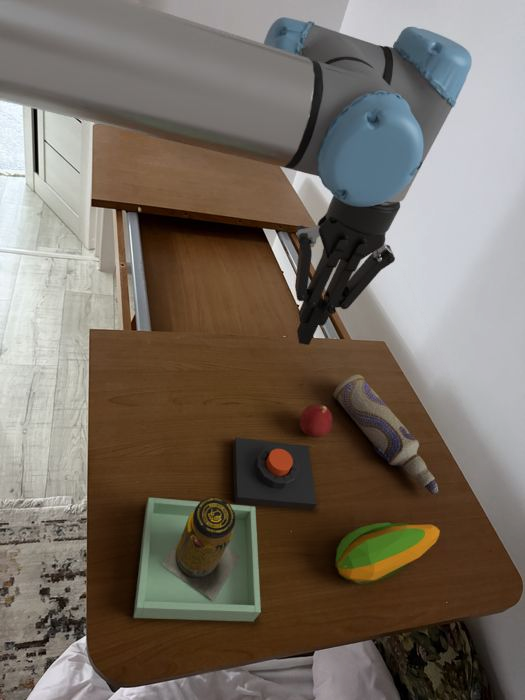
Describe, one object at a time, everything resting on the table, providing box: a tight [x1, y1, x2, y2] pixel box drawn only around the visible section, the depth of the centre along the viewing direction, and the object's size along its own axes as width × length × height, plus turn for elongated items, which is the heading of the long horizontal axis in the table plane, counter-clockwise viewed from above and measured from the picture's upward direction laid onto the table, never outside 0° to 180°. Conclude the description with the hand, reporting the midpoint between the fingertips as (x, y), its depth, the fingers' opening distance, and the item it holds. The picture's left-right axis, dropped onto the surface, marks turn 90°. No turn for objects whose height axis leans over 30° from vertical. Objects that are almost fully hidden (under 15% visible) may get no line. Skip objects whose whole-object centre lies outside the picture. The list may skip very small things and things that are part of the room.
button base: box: [232, 437, 318, 511], centre depth 82 cm, size 13×11×4 cm
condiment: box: [161, 496, 240, 601], centre depth 66 cm, size 7×8×12 cm
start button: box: [266, 449, 293, 476], centre depth 81 cm, size 4×4×2 cm
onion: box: [299, 403, 334, 438], centre depth 90 cm, size 6×6×8 cm
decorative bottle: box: [332, 374, 440, 495], centre depth 93 cm, size 26×8×7 cm, turn 33°
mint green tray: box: [133, 497, 262, 623], centre depth 69 cm, size 16×15×4 cm
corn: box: [335, 522, 441, 585], centre depth 77 cm, size 7×8×20 cm
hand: (302, 337), depth 73 cm, fingers closed
